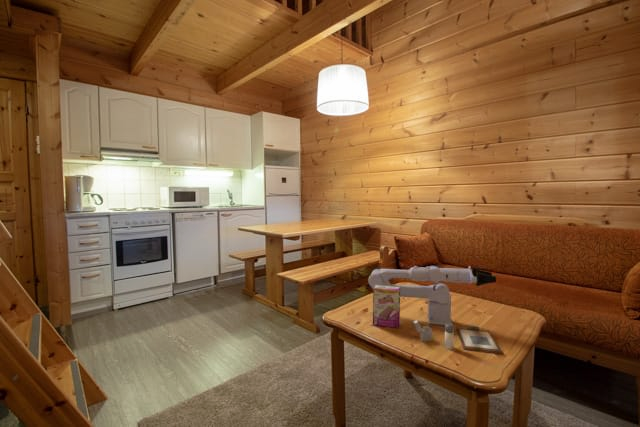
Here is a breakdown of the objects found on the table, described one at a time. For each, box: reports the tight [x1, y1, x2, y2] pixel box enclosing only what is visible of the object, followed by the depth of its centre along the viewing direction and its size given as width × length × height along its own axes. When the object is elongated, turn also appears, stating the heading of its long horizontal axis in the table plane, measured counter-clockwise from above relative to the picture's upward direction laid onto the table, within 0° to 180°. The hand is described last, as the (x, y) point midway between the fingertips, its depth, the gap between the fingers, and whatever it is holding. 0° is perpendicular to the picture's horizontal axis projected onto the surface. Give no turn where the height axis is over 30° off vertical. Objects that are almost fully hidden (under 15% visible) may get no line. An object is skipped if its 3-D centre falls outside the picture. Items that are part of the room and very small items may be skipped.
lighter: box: [412, 319, 433, 342], centre depth 114 cm, size 7×2×8 cm, turn 100°
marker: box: [444, 323, 455, 351], centre depth 108 cm, size 3×3×8 cm
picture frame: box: [455, 325, 502, 354], centre depth 113 cm, size 12×16×2 cm
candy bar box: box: [372, 285, 401, 329], centre depth 127 cm, size 11×5×16 cm, turn 74°
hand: (493, 277), depth 122 cm, fingers open, 7 cm apart
